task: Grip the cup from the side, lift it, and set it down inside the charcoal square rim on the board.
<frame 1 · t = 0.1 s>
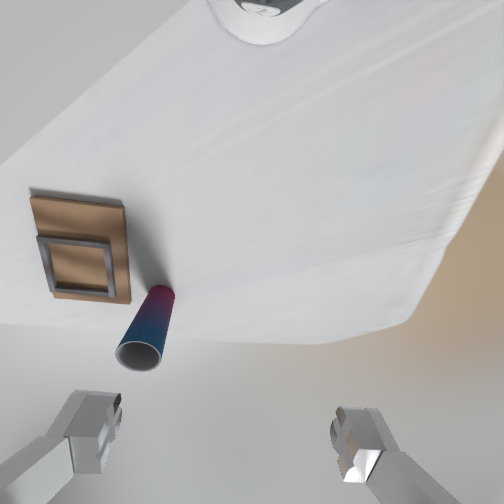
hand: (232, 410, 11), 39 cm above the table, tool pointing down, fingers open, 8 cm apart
cup: (162, 294, 56), on the table
board: (88, 253, 51), on the table
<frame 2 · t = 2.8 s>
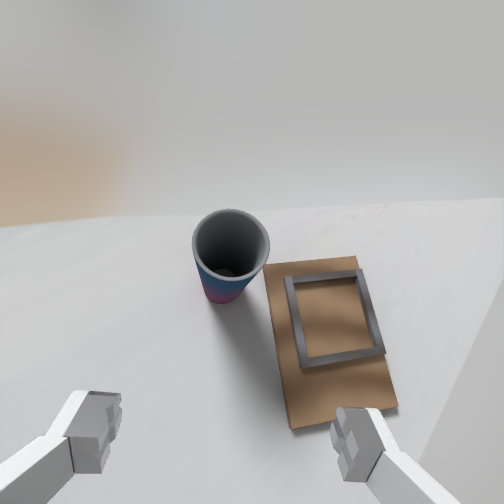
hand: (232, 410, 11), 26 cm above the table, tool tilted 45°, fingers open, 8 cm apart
cup: (222, 285, 38), on the table
board: (324, 332, 38), on the table
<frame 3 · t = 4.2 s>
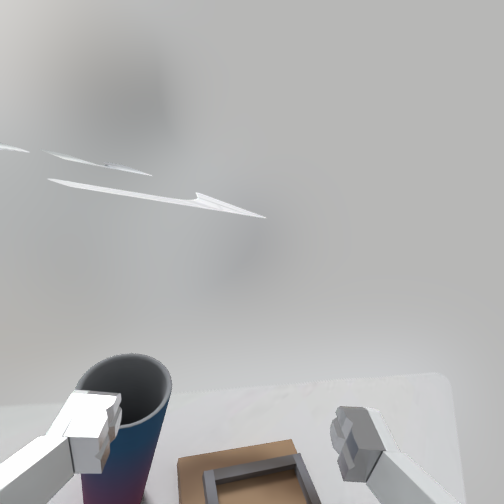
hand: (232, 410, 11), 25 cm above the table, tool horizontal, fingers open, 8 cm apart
cup: (114, 499, 27), on the table
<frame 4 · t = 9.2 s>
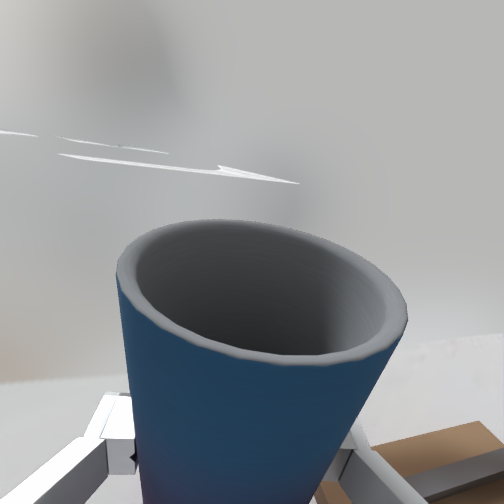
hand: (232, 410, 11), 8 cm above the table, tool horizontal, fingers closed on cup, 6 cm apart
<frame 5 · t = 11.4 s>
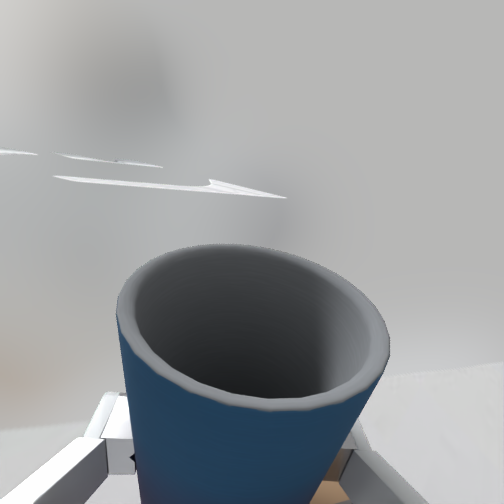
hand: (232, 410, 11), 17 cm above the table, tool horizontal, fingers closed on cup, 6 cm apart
when the fingers open (11 cm above the table, at t = 13.9 s): cup stays where it is, resting on board.
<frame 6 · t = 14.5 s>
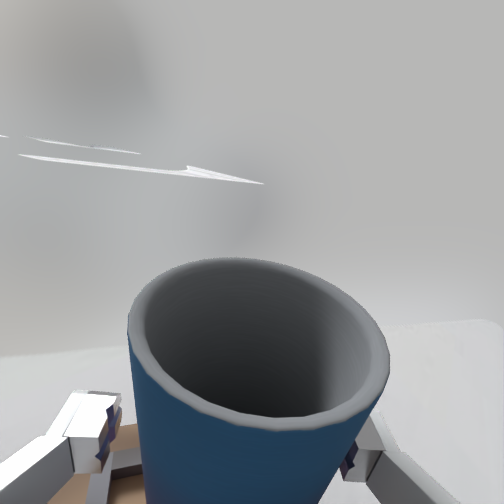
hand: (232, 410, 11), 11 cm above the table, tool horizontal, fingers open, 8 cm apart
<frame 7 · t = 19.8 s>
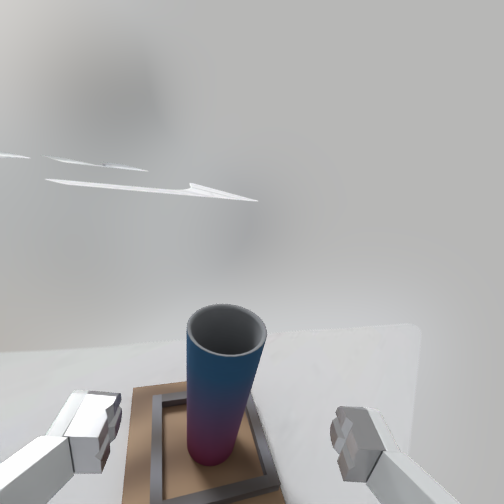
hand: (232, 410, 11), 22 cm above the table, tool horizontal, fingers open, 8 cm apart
cup: (210, 441, 30), point 1 cm above the table, touching board
board: (200, 470, 28), on the table
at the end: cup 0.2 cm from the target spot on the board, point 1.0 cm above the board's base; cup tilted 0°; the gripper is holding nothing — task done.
